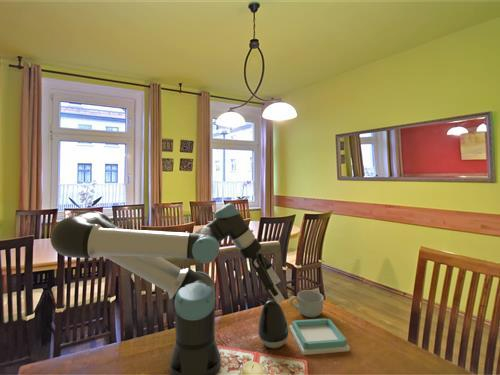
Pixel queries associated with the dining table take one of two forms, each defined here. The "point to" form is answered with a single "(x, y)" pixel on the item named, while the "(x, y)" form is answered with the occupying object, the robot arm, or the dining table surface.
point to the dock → (318, 336)
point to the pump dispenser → (272, 324)
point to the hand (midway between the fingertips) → (279, 291)
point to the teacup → (309, 303)
